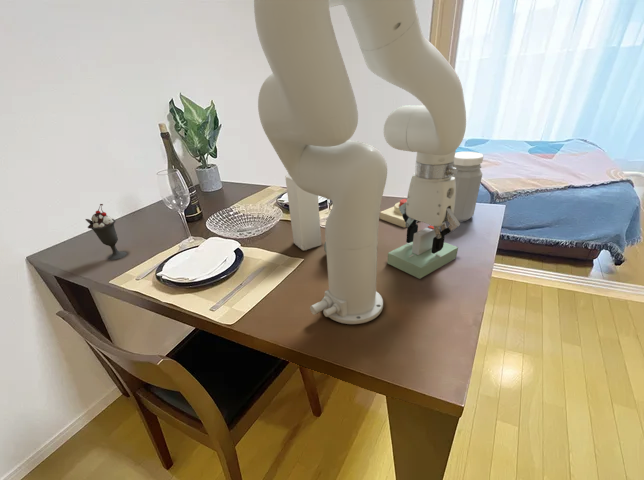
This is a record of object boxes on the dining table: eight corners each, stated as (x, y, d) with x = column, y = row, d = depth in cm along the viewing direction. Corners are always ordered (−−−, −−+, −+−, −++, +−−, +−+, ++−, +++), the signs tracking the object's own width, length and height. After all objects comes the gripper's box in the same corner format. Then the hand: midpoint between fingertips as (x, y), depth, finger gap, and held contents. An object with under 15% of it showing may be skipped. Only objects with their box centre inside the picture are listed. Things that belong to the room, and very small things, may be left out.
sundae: (135, 251, 98) (112, 201, 89) (118, 262, 92) (93, 211, 84) (117, 249, 99) (93, 201, 90) (99, 260, 94) (73, 210, 85)
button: (406, 209, 100) (406, 203, 99) (397, 206, 102) (397, 201, 101) (413, 206, 102) (414, 200, 101) (404, 203, 104) (405, 198, 103)
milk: (303, 251, 90) (293, 168, 77) (293, 243, 95) (282, 163, 82) (322, 245, 93) (315, 163, 79) (312, 237, 97) (304, 158, 84)
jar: (469, 224, 96) (483, 160, 86) (435, 220, 101) (444, 158, 90) (475, 213, 103) (489, 151, 93) (443, 209, 107) (452, 149, 97)
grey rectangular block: (418, 255, 78) (420, 235, 75) (411, 252, 79) (413, 232, 76) (434, 247, 81) (437, 227, 78) (427, 244, 82) (430, 224, 79)
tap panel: (420, 279, 75) (421, 267, 73) (386, 263, 82) (387, 252, 80) (456, 258, 82) (458, 246, 80) (423, 244, 89) (424, 234, 87)
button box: (404, 227, 98) (405, 214, 96) (379, 218, 105) (380, 206, 102) (429, 216, 104) (431, 203, 101) (404, 208, 110) (405, 196, 108)
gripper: (482, 173, 65) (465, 253, 76) (412, 159, 77) (405, 230, 87) (459, 182, 62) (444, 264, 72) (390, 166, 73) (386, 239, 84)
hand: (423, 245), depth 79 cm, fingers open, 6 cm apart
